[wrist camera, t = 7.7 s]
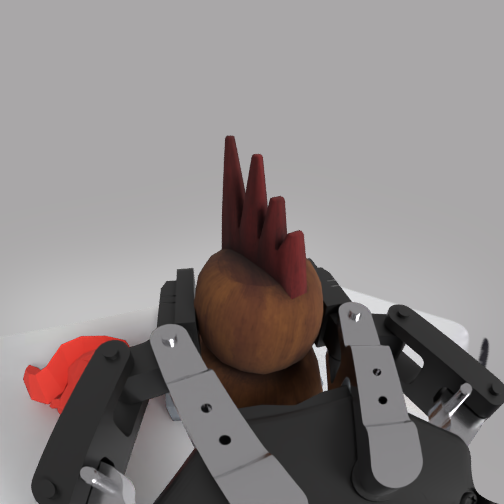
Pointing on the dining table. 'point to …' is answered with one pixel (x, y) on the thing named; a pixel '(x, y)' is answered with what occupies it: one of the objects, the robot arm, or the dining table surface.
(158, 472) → the dining table surface
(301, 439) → the robot arm
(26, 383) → the animal figurine
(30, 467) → the dining table surface
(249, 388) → the wooden figurine
